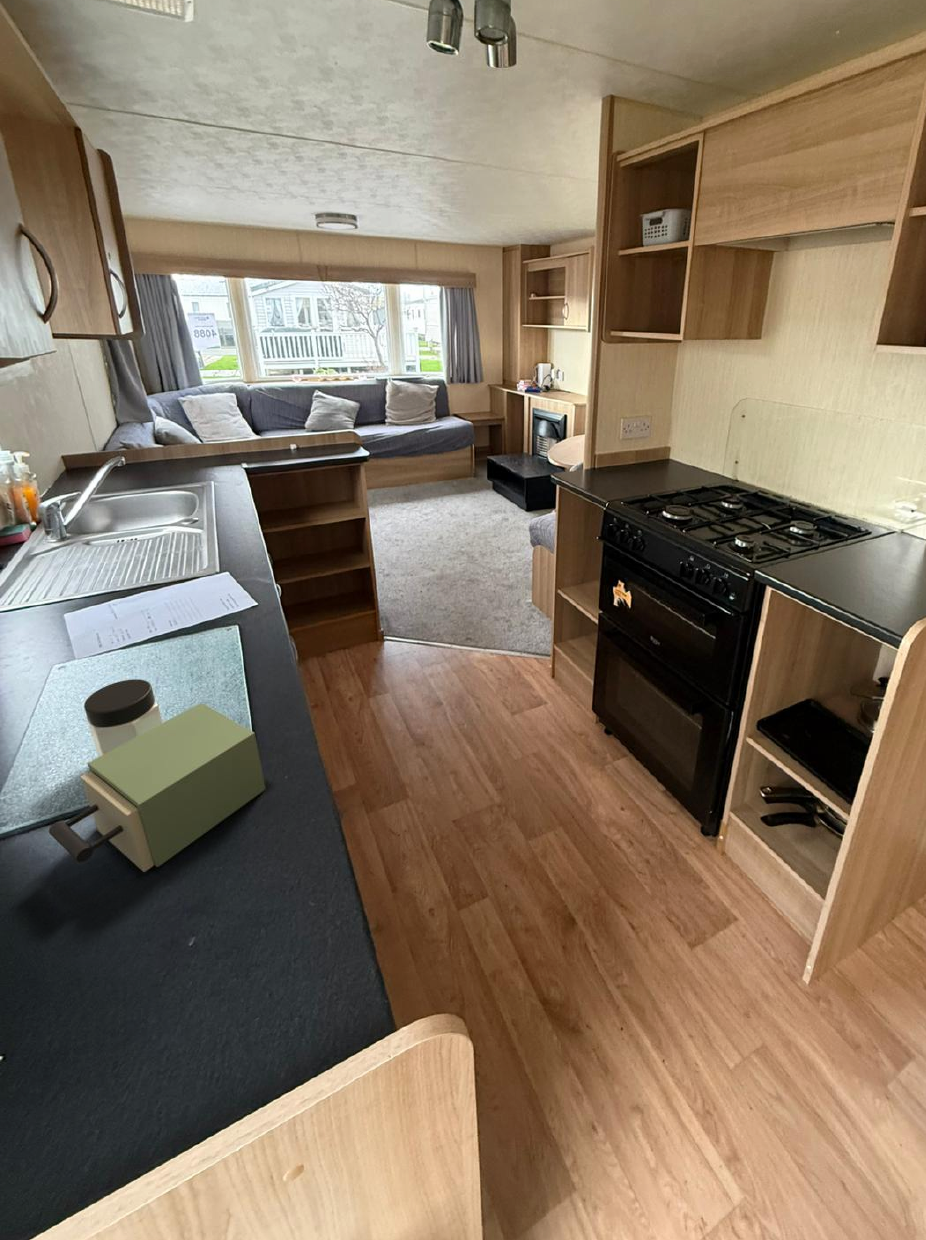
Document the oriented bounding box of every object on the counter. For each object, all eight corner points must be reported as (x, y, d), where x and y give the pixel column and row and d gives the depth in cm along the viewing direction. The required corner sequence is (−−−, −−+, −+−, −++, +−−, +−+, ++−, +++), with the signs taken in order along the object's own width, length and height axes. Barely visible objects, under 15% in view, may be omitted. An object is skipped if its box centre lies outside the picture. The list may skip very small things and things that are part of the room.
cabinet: (158, 872, 69) (139, 804, 65) (107, 827, 75) (86, 763, 71) (266, 794, 81) (254, 732, 77) (214, 760, 87) (201, 702, 83)
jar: (176, 737, 92) (160, 673, 87) (164, 773, 84) (146, 705, 80) (111, 750, 89) (92, 684, 85) (93, 787, 82) (70, 718, 77)
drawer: (98, 905, 64) (78, 846, 61) (53, 858, 70) (32, 802, 67) (248, 798, 79) (237, 746, 76) (201, 766, 84) (189, 717, 81)
